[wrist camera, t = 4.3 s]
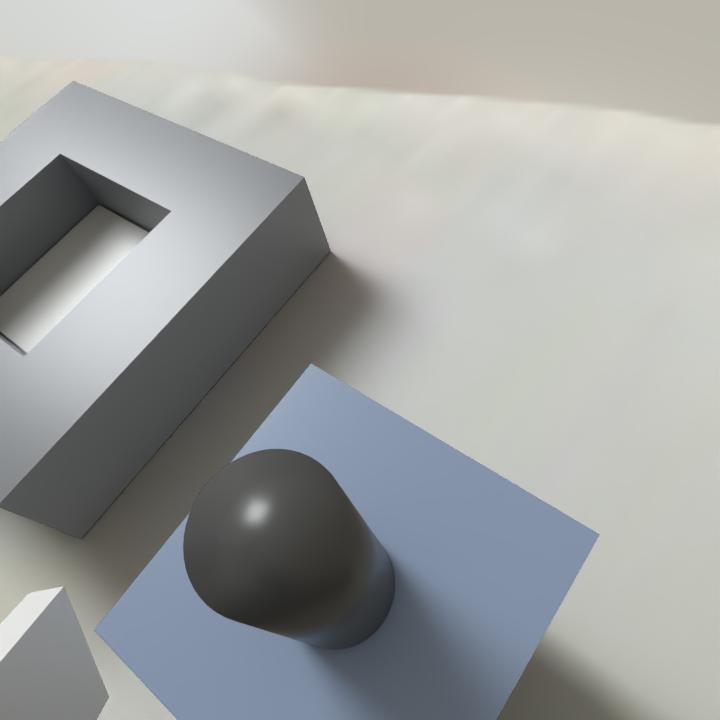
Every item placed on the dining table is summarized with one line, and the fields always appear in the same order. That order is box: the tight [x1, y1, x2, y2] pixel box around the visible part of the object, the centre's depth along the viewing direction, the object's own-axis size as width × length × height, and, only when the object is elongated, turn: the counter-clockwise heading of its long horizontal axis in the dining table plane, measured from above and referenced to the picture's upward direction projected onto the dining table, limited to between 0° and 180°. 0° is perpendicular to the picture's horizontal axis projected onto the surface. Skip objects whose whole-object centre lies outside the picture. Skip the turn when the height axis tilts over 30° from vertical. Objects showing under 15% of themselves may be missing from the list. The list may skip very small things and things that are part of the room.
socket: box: [0, 81, 331, 539], centre depth 24 cm, size 14×14×4 cm
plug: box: [94, 364, 600, 720], centre depth 11 cm, size 5×5×13 cm
